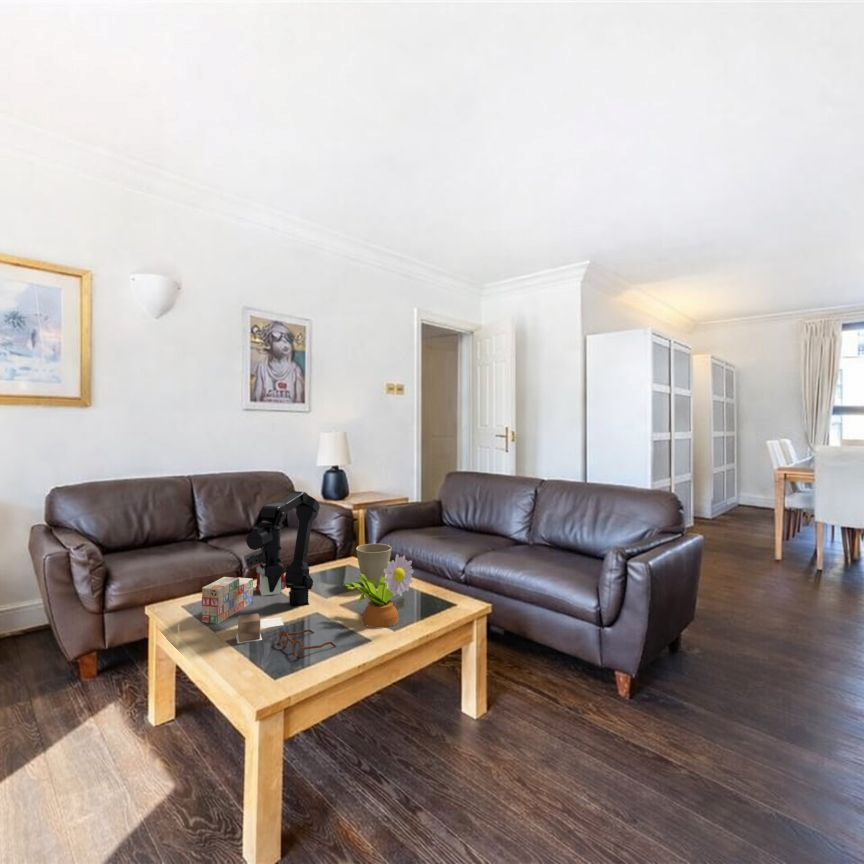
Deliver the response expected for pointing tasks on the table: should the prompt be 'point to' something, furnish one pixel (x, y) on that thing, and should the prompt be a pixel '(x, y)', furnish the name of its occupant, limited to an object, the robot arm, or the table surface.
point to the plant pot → (373, 560)
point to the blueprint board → (265, 624)
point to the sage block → (265, 587)
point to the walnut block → (248, 627)
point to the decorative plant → (384, 593)
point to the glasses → (300, 641)
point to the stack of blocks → (225, 598)
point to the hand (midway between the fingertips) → (270, 589)
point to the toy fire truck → (258, 570)
